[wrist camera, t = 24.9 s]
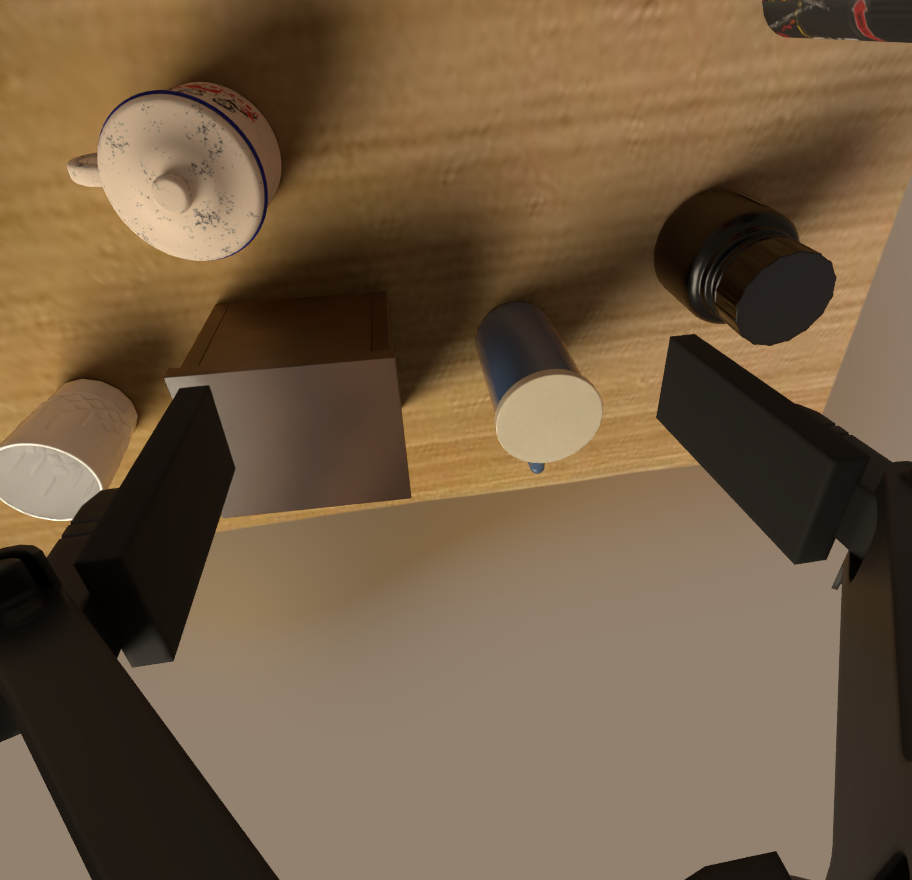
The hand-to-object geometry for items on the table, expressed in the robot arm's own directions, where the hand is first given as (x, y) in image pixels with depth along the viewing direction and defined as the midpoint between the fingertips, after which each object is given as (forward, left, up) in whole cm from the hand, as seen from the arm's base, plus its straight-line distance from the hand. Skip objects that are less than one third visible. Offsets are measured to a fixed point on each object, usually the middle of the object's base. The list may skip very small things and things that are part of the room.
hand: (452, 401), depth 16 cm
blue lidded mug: (+9, -16, -31) cm, 36 cm away
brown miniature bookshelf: (-9, -15, -31) cm, 36 cm away
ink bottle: (+25, -7, -31) cm, 41 cm away
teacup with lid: (-14, +2, -31) cm, 35 cm away
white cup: (-29, -18, -31) cm, 47 cm away
